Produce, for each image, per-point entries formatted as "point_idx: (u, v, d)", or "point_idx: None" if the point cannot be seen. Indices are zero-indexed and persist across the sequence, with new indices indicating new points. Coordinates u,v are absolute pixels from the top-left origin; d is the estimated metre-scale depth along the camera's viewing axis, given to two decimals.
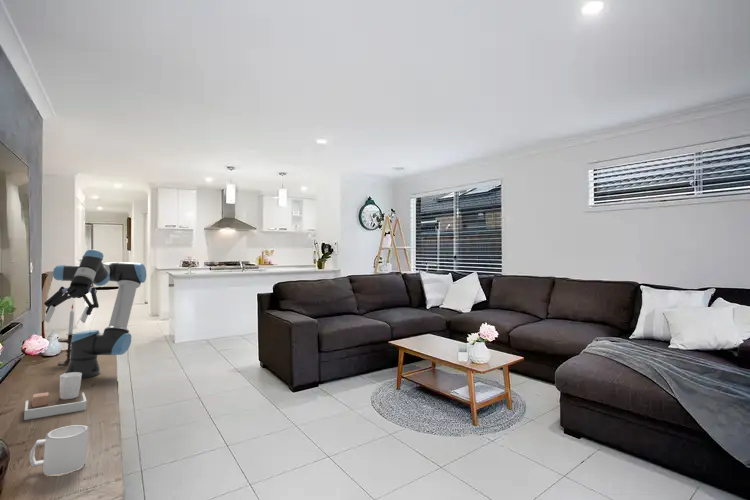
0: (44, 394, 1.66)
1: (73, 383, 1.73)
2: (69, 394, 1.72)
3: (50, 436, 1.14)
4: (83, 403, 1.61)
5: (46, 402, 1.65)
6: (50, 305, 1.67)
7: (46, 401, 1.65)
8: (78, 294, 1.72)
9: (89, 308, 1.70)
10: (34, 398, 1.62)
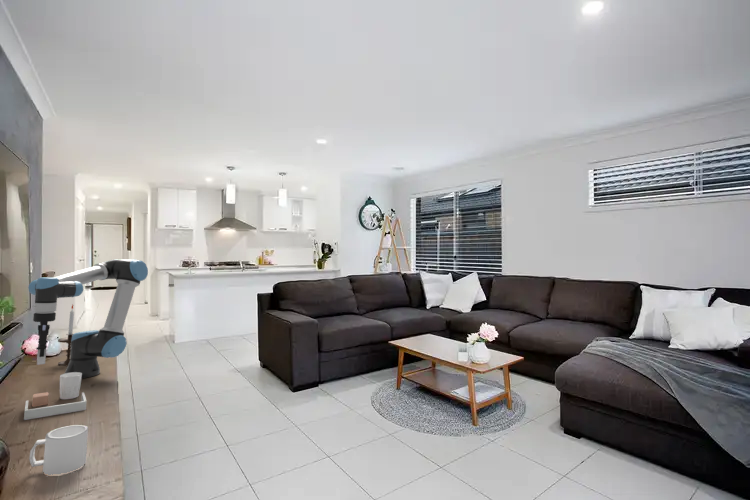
0: (44, 394, 1.66)
1: (73, 383, 1.73)
2: (69, 394, 1.72)
3: (50, 436, 1.14)
4: (83, 403, 1.61)
5: (46, 402, 1.65)
6: None
7: (46, 401, 1.65)
8: None
9: (40, 350, 1.66)
10: (34, 398, 1.62)
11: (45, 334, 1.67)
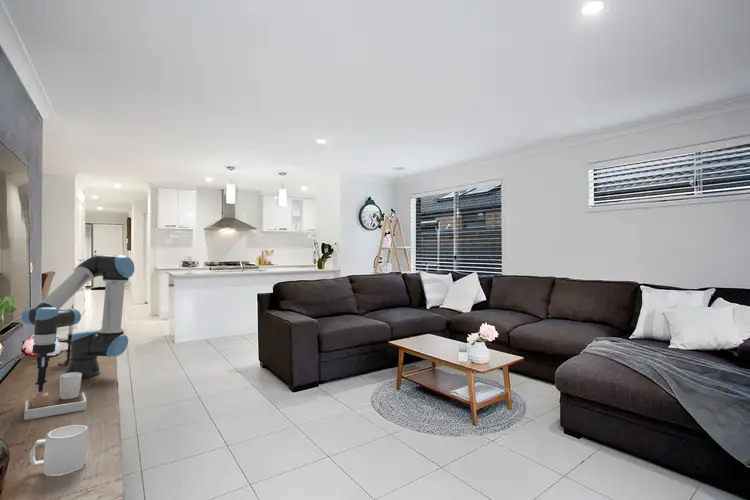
0: (44, 394, 1.66)
1: (73, 383, 1.73)
2: (69, 394, 1.72)
3: (50, 436, 1.14)
4: (83, 403, 1.61)
5: (46, 402, 1.64)
6: (37, 381, 1.67)
7: (46, 401, 1.64)
8: None
9: (38, 385, 1.66)
10: (34, 398, 1.62)
11: (44, 371, 1.64)
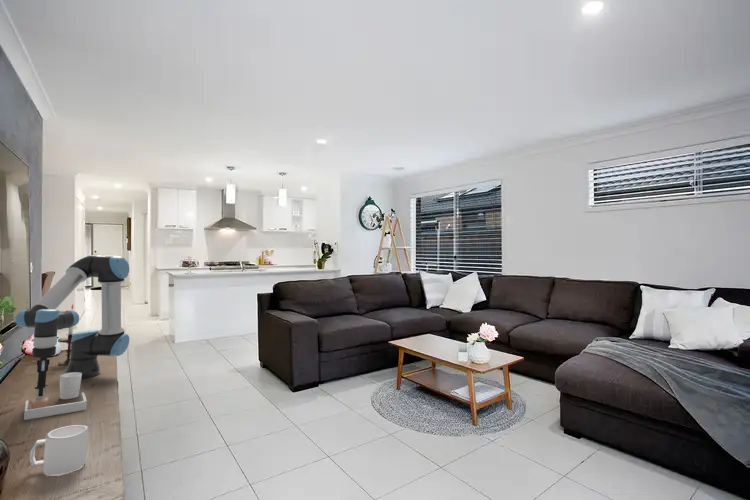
0: (44, 399, 1.60)
1: (73, 383, 1.73)
2: (69, 394, 1.72)
3: (50, 436, 1.14)
4: (83, 403, 1.61)
5: None
6: (37, 386, 1.62)
7: (46, 406, 1.59)
8: None
9: (38, 390, 1.61)
10: (33, 403, 1.56)
11: (44, 375, 1.59)
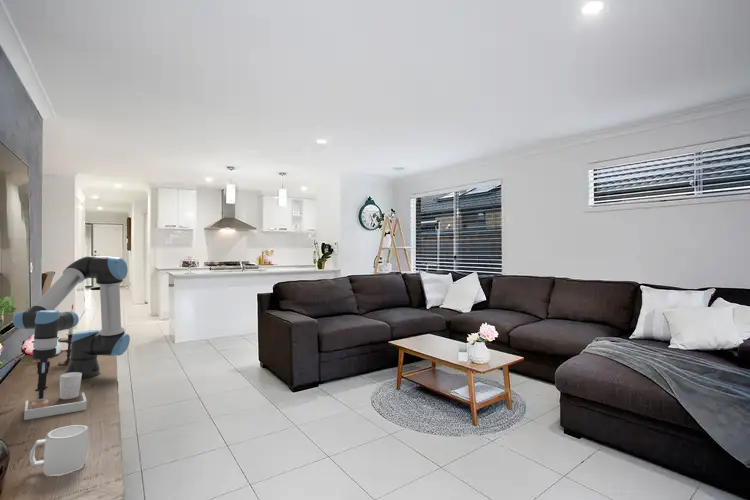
0: (44, 401, 1.58)
1: (73, 383, 1.73)
2: (69, 394, 1.72)
3: (50, 436, 1.14)
4: (83, 403, 1.61)
5: None
6: (37, 388, 1.60)
7: None
8: None
9: (39, 392, 1.58)
10: (33, 406, 1.54)
11: (44, 377, 1.57)
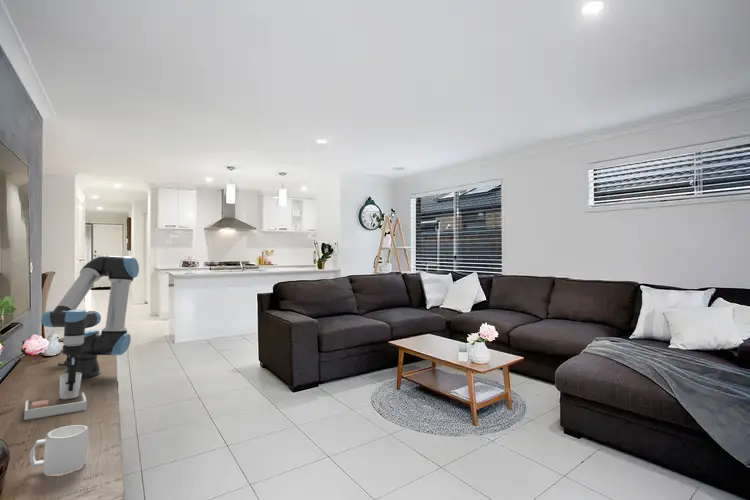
0: (44, 402, 1.58)
1: None
2: None
3: (50, 436, 1.14)
4: (83, 403, 1.61)
5: None
6: None
7: None
8: (69, 364, 1.74)
9: (69, 385, 1.71)
10: (33, 406, 1.54)
11: (74, 369, 1.71)
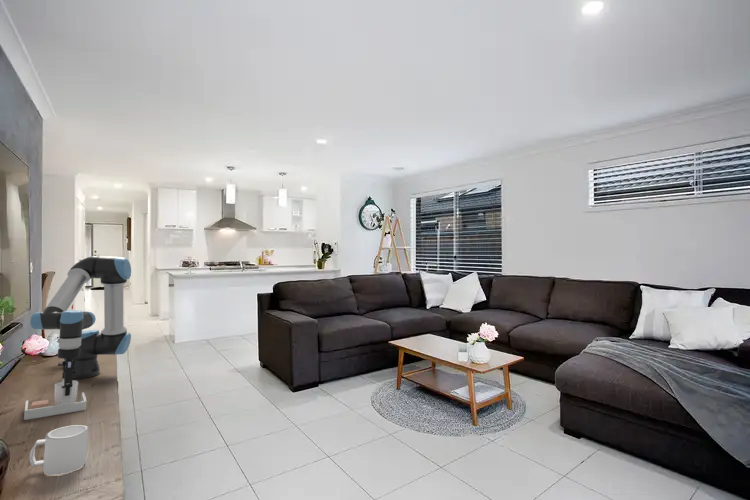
0: (44, 402, 1.58)
1: None
2: None
3: (50, 436, 1.14)
4: (83, 403, 1.61)
5: None
6: None
7: None
8: None
9: (65, 389, 1.57)
10: (33, 406, 1.54)
11: (70, 372, 1.58)
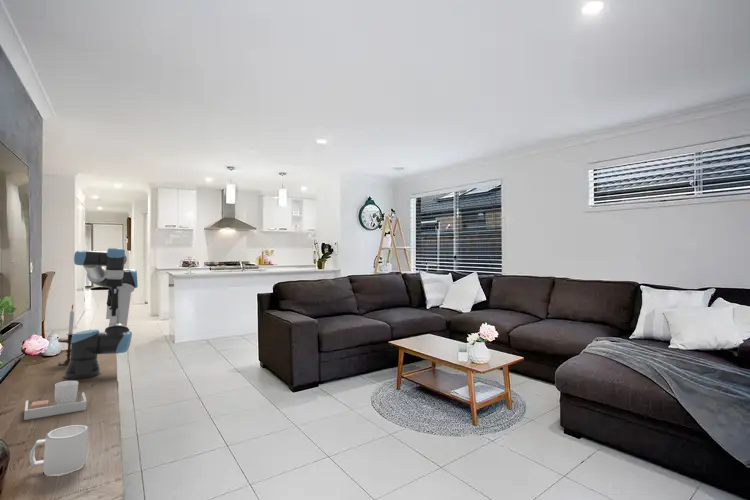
0: (44, 402, 1.58)
1: (69, 392, 1.61)
2: None
3: (50, 436, 1.14)
4: (83, 403, 1.61)
5: None
6: (107, 305, 2.00)
7: None
8: None
9: (112, 310, 1.89)
10: (32, 406, 1.54)
11: (116, 296, 1.90)
